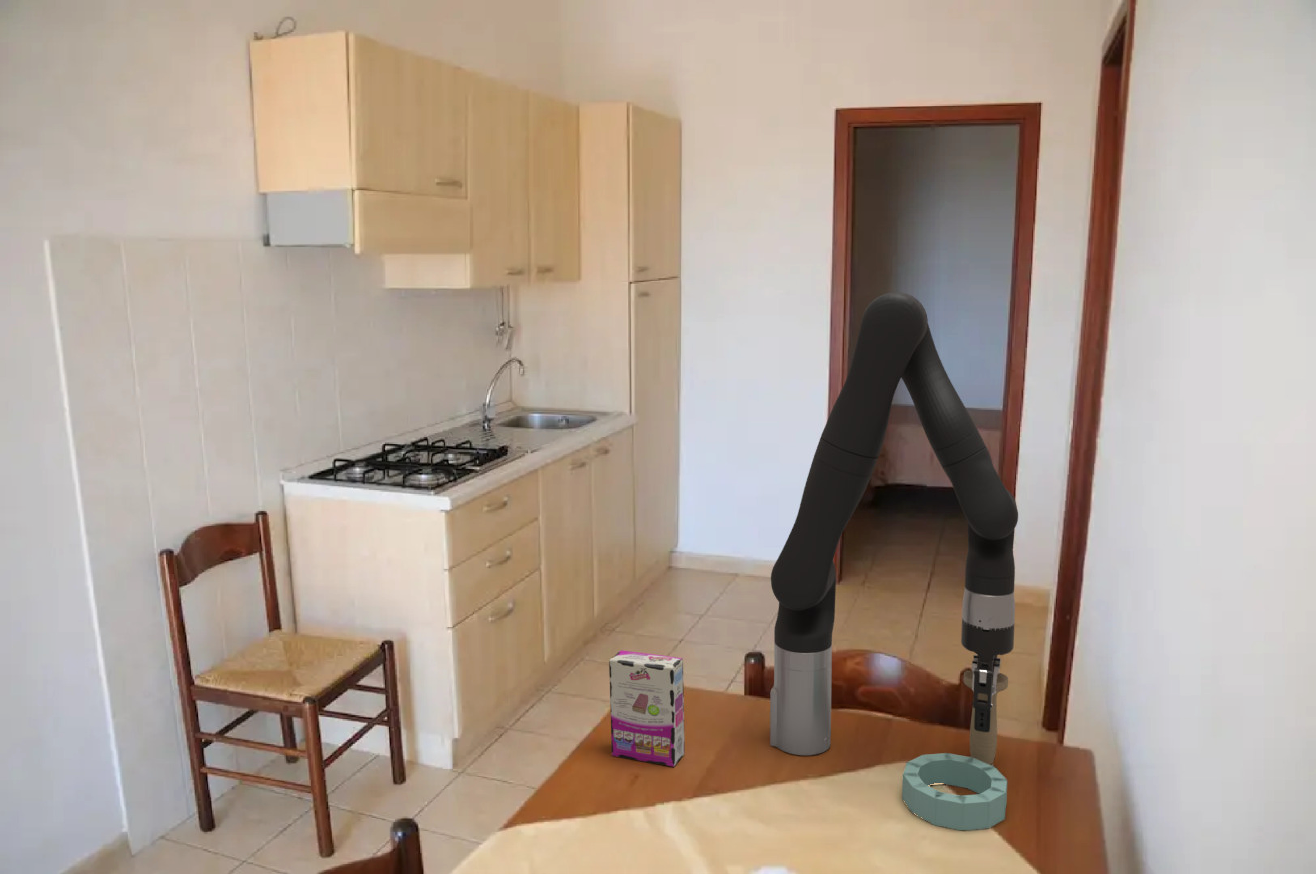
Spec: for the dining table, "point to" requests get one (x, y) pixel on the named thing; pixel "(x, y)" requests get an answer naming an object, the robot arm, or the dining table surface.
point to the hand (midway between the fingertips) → (984, 719)
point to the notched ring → (950, 807)
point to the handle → (987, 741)
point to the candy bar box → (647, 707)
